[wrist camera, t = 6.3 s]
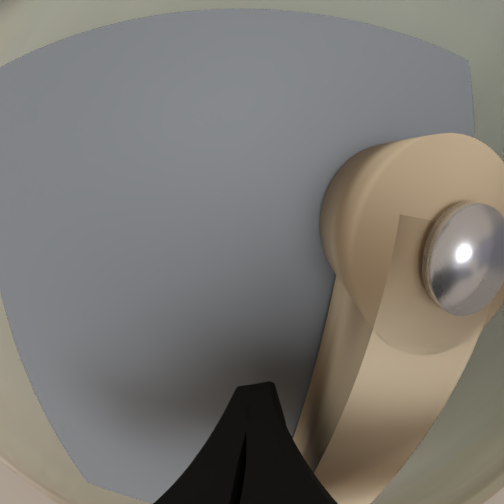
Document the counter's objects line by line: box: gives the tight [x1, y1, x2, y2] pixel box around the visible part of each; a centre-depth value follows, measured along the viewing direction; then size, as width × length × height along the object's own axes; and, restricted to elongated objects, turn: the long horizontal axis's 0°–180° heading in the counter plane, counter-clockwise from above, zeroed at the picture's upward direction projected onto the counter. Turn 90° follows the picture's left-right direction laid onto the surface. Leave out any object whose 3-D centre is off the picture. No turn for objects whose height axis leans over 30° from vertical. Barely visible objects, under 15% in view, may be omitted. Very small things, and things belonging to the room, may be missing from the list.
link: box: [293, 133, 504, 504], centre depth 7 cm, size 16×4×3 cm, turn 174°
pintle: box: [422, 201, 504, 316], centre depth 4 cm, size 2×2×1 cm
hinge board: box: [0, 9, 474, 503], centre depth 10 cm, size 18×24×1 cm
